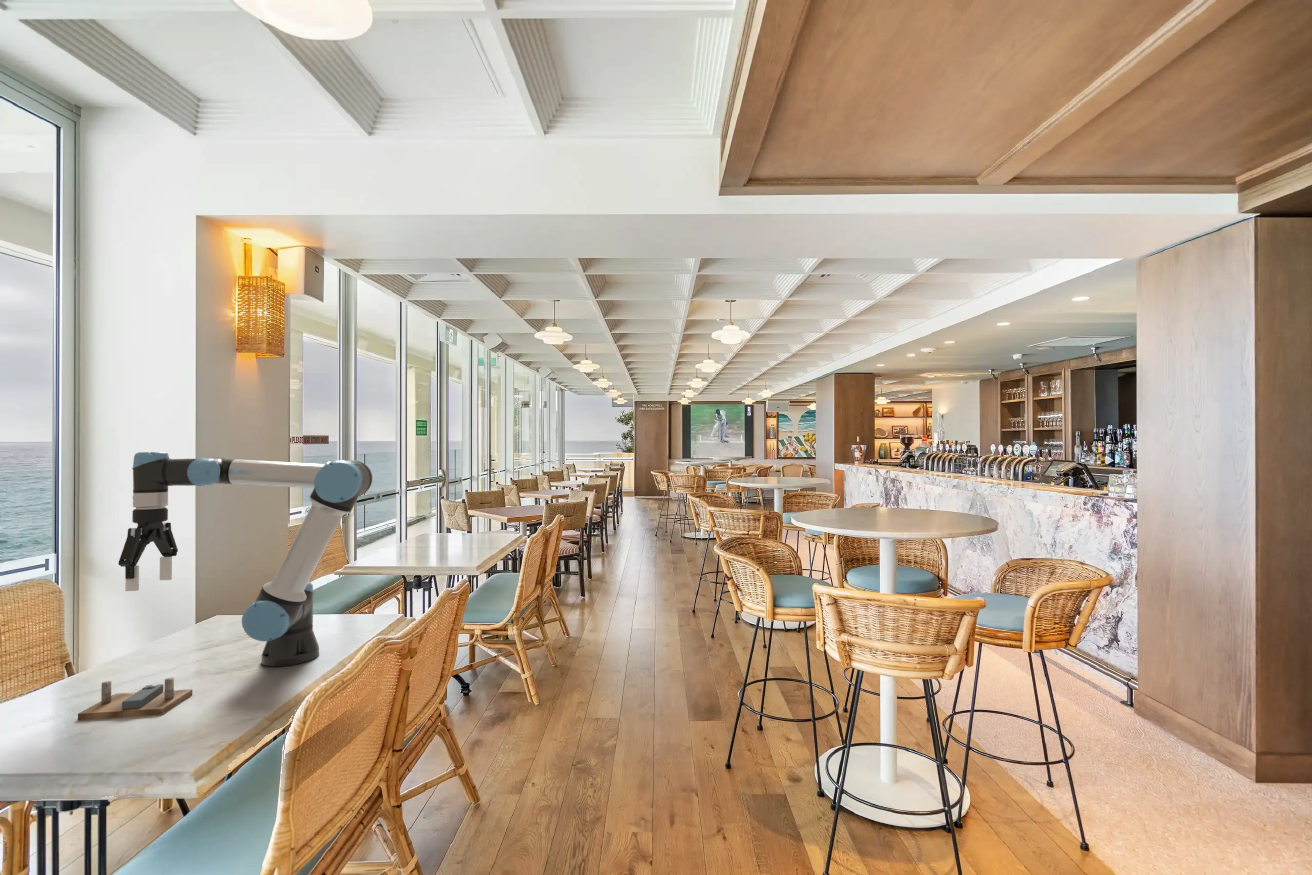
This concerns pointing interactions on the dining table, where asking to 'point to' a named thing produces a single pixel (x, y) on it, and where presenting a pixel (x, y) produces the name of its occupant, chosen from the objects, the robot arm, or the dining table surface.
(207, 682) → the dining table surface
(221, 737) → the dining table surface
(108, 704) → the mount
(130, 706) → the dark grey block
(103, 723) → the dining table surface
